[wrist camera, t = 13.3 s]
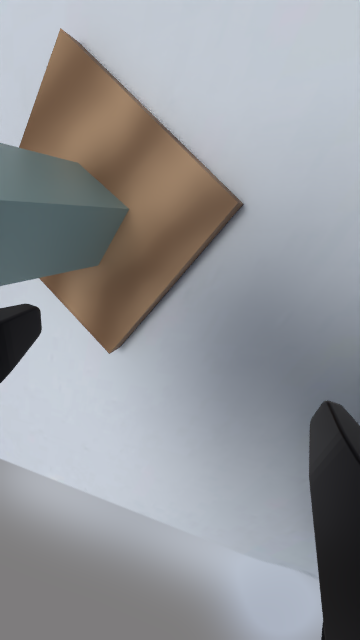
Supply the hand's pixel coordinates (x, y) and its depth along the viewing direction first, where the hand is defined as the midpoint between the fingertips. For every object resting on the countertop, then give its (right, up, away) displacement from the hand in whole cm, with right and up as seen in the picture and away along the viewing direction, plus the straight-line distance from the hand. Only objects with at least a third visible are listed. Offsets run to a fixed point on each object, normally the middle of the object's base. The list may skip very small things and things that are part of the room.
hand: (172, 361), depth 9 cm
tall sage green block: (-7, +9, +13) cm, 17 cm away
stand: (-6, +10, +14) cm, 18 cm away
